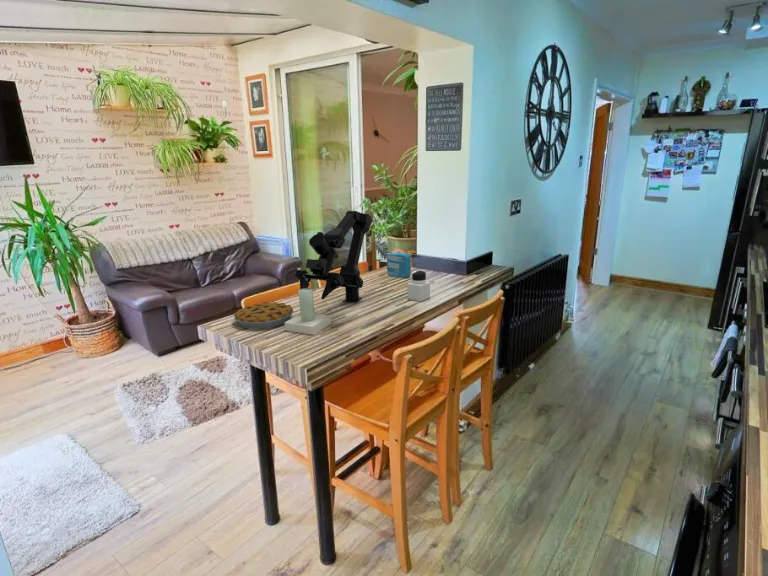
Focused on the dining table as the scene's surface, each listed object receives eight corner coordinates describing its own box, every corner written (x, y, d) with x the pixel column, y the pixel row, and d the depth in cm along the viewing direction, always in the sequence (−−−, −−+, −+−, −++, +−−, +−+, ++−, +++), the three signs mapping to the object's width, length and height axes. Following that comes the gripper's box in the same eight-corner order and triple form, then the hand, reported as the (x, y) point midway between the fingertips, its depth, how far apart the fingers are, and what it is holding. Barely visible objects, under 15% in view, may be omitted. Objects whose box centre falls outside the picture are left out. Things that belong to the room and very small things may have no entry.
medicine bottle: (430, 297, 193) (430, 271, 190) (420, 301, 188) (420, 274, 185) (416, 295, 197) (416, 268, 194) (407, 299, 192) (407, 272, 189)
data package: (387, 275, 233) (386, 253, 229) (392, 273, 236) (391, 251, 233) (406, 278, 226) (405, 255, 222) (410, 276, 229) (410, 253, 226)
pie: (270, 308, 186) (269, 296, 184) (305, 318, 172) (304, 306, 171) (223, 323, 169) (222, 310, 168) (258, 335, 156) (256, 322, 155)
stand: (304, 319, 170) (303, 312, 169) (331, 323, 165) (330, 315, 164) (285, 330, 160) (284, 322, 159) (313, 334, 155) (312, 326, 154)
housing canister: (310, 315, 165) (308, 287, 162) (317, 319, 161) (315, 290, 158) (298, 319, 162) (295, 290, 159) (305, 322, 158) (302, 293, 155)
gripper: (294, 248, 166) (279, 284, 160) (338, 251, 159) (324, 289, 152) (308, 264, 175) (294, 299, 169) (349, 267, 168) (336, 304, 161)
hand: (311, 297), depth 163 cm, fingers open, 9 cm apart
